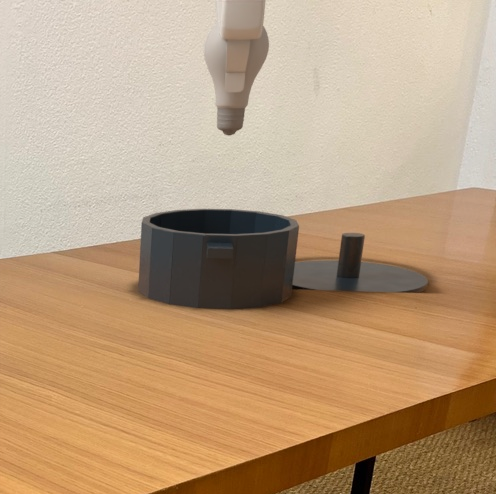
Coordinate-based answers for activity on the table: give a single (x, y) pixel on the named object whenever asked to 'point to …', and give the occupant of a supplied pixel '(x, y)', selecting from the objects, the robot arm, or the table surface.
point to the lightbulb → (215, 58)
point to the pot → (217, 258)
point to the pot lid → (355, 272)
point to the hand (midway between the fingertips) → (232, 90)
